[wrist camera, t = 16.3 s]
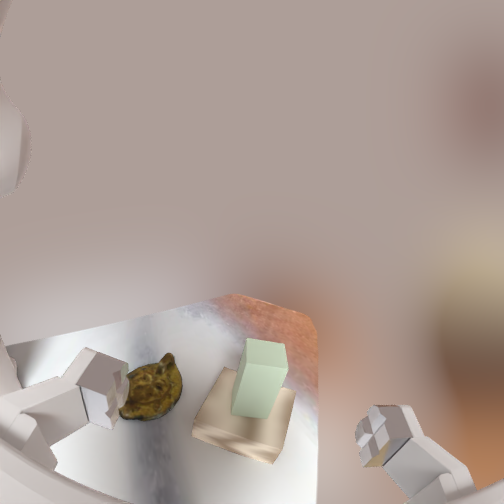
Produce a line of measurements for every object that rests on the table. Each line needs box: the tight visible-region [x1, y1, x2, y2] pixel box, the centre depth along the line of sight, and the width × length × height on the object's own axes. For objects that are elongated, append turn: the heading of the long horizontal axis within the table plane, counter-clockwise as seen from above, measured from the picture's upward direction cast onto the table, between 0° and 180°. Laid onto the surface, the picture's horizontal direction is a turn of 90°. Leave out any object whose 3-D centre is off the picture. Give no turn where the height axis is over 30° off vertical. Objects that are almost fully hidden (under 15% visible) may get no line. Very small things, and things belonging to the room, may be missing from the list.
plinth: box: [191, 367, 296, 464], centre depth 39 cm, size 12×12×5 cm
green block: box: [231, 338, 288, 419], centre depth 37 cm, size 5×5×10 cm
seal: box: [118, 353, 182, 421], centre depth 40 cm, size 9×5×15 cm
